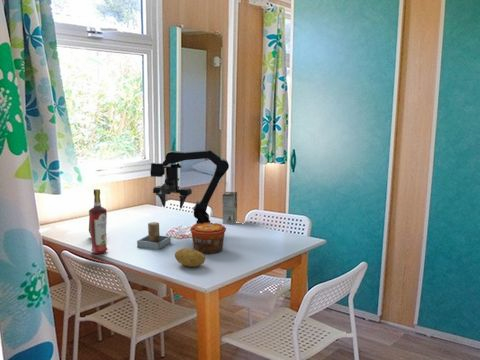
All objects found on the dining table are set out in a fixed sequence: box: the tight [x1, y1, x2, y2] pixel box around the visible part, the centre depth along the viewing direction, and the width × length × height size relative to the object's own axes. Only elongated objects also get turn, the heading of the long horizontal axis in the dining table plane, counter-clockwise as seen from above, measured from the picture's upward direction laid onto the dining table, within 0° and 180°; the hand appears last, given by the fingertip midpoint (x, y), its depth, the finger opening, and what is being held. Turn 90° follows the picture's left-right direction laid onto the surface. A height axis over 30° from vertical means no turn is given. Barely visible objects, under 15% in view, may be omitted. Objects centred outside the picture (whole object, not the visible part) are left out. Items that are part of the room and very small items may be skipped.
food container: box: [189, 222, 227, 255], centre depth 217 cm, size 16×16×11 cm
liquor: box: [88, 188, 108, 255], centre depth 211 cm, size 7×7×28 cm
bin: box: [136, 235, 172, 251], centre depth 224 cm, size 11×11×3 cm
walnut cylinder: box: [147, 221, 161, 243], centre depth 224 cm, size 5×5×10 cm
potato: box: [174, 247, 206, 268], centre depth 197 cm, size 9×13×7 cm
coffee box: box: [222, 191, 238, 225], centre depth 266 cm, size 9×6×16 cm
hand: (172, 207), depth 242 cm, fingers open, 9 cm apart
